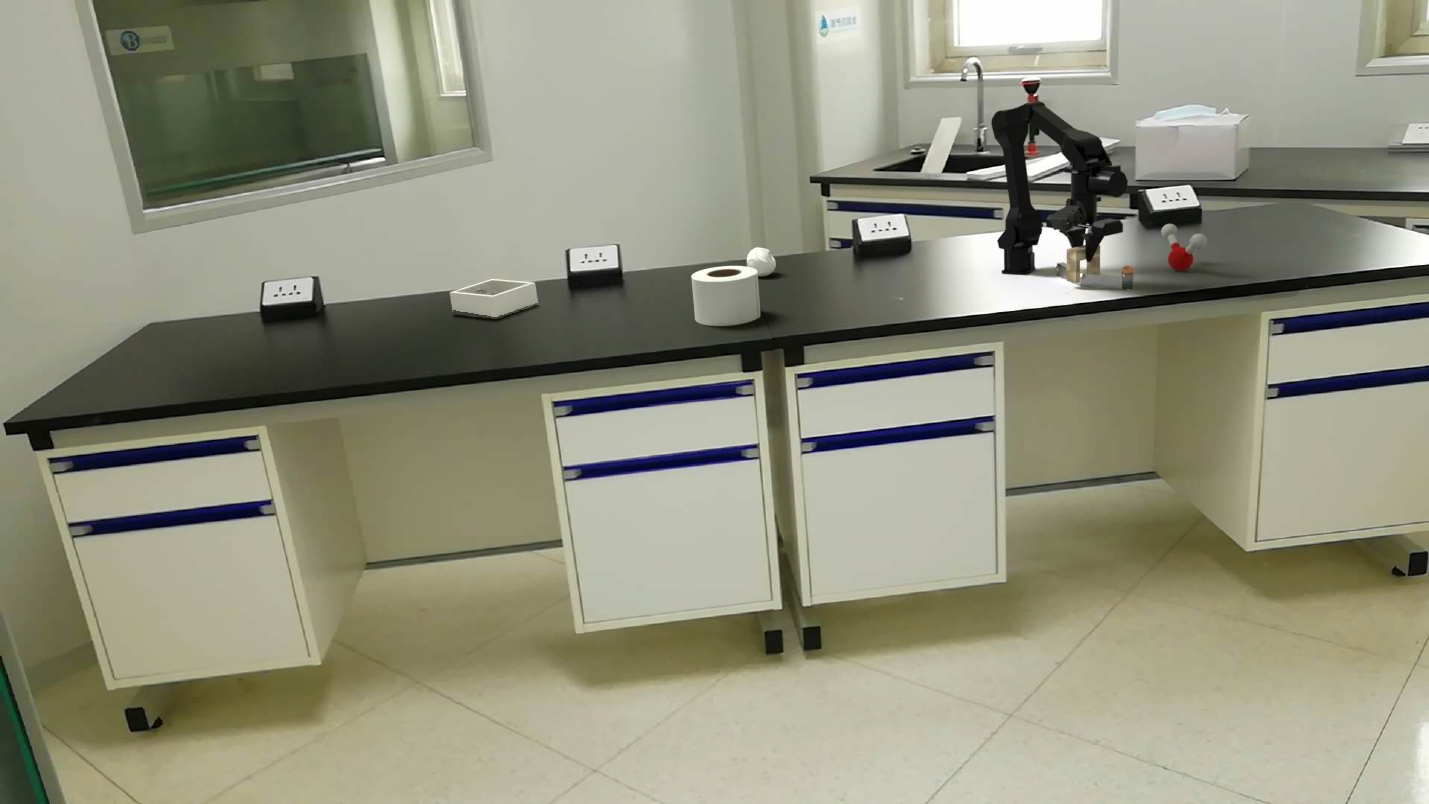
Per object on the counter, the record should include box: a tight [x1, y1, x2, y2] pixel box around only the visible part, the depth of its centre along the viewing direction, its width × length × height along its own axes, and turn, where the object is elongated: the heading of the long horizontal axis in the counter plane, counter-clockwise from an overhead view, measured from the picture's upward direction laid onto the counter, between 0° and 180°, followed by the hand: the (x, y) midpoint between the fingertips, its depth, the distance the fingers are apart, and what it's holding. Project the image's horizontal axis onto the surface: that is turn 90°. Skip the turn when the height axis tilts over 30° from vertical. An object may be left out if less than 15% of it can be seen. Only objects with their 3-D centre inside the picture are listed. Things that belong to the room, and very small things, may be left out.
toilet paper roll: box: [690, 265, 761, 327], centre depth 271 cm, size 16×15×11 cm
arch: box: [1066, 244, 1101, 284], centre depth 268 cm, size 3×7×8 cm, turn 118°
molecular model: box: [1160, 223, 1208, 272], centre depth 274 cm, size 18×6×10 cm, turn 6°
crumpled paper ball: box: [746, 247, 777, 277], centre depth 309 cm, size 8×8×8 cm
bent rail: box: [1055, 262, 1135, 290], centre depth 271 cm, size 23×6×5 cm, turn 29°
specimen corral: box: [449, 278, 539, 317], centre depth 300 cm, size 16×15×6 cm
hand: (1083, 260), depth 268 cm, fingers closed on arch, 3 cm apart
